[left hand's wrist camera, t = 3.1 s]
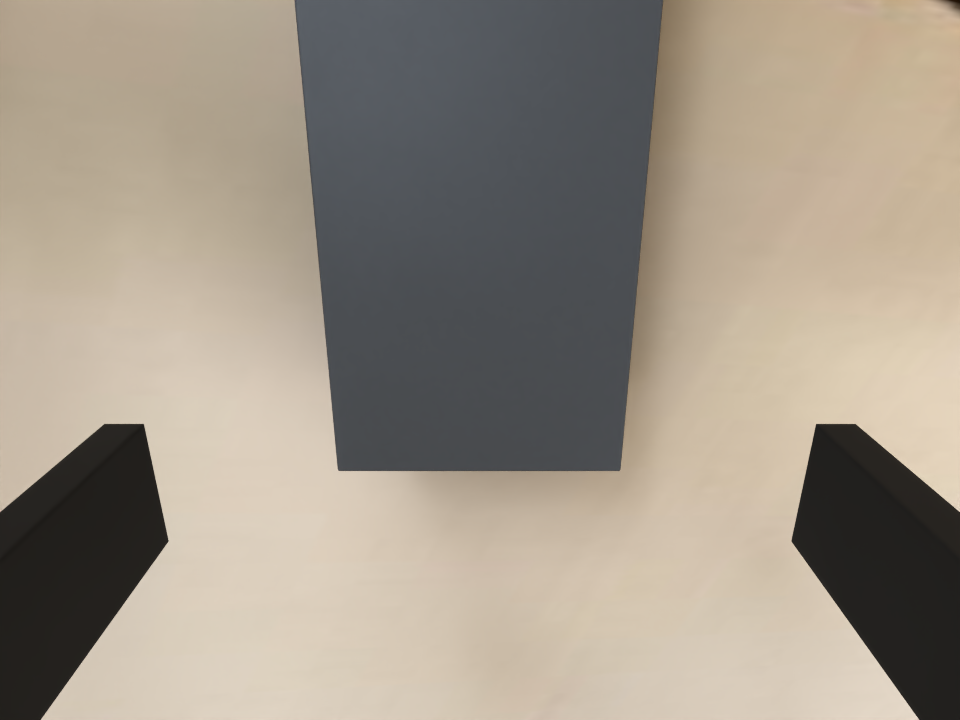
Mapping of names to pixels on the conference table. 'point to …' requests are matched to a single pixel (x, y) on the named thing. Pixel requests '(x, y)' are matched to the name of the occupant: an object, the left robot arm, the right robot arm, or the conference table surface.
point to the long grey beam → (478, 225)
